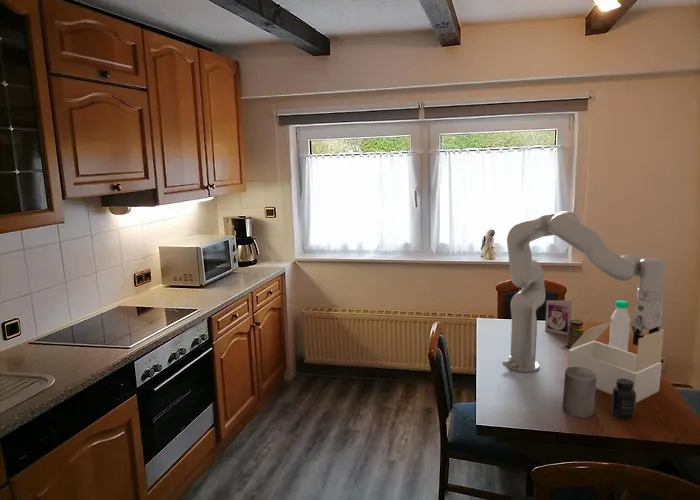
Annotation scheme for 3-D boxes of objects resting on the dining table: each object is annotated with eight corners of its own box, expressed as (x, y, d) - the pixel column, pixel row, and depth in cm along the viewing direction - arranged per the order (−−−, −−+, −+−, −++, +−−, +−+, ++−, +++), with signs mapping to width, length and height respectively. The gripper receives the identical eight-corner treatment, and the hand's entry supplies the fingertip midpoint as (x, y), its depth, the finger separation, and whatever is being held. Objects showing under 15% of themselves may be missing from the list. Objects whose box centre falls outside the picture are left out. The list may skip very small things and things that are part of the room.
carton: (633, 404, 177) (636, 374, 175) (566, 376, 198) (568, 349, 196) (658, 391, 185) (661, 362, 183) (592, 366, 207) (593, 340, 205)
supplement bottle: (636, 414, 170) (640, 380, 168) (631, 423, 165) (634, 388, 163) (614, 408, 175) (617, 374, 172) (608, 416, 170) (610, 382, 167)
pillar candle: (557, 404, 178) (559, 363, 175) (584, 402, 179) (587, 362, 176) (571, 419, 169) (574, 376, 166) (600, 417, 169) (603, 374, 166)
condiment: (586, 347, 226) (587, 321, 224) (577, 353, 220) (579, 326, 218) (569, 343, 231) (571, 317, 229) (561, 348, 225) (562, 322, 223)
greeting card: (544, 331, 246) (545, 300, 243) (549, 326, 252) (551, 297, 249) (569, 336, 239) (571, 305, 236) (574, 331, 244) (576, 301, 241)
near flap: (635, 370, 175) (637, 371, 175) (638, 338, 173) (639, 339, 173) (659, 360, 183) (660, 360, 183) (662, 329, 181) (664, 329, 180)
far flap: (589, 329, 188) (588, 328, 189) (571, 348, 196) (570, 347, 196) (613, 321, 196) (612, 320, 196) (595, 339, 203) (594, 338, 204)
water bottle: (608, 355, 217) (612, 297, 212) (627, 358, 213) (632, 300, 208) (606, 361, 211) (611, 302, 206) (626, 364, 208) (631, 305, 203)
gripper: (646, 301, 168) (642, 351, 171) (674, 292, 177) (670, 339, 180) (624, 296, 174) (620, 344, 177) (652, 287, 183) (648, 333, 186)
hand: (645, 342), depth 179 cm, fingers open, 9 cm apart
